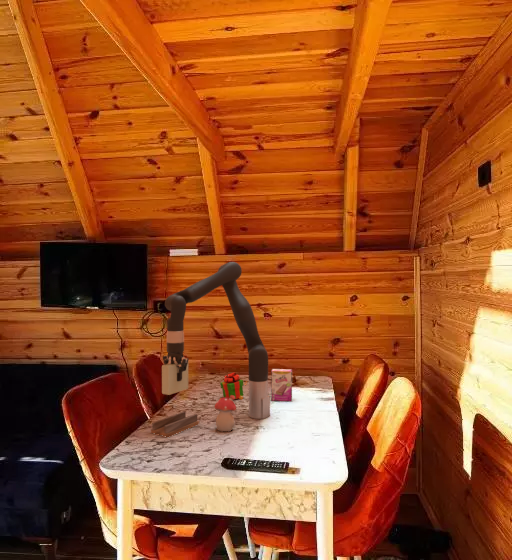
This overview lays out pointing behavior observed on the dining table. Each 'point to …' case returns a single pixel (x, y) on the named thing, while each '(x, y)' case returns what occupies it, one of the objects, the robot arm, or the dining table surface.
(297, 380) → the dining table surface
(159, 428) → the door track
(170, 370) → the door panel
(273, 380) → the candy bar box
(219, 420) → the decorative ornament
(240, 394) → the gift box
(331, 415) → the dining table surface
